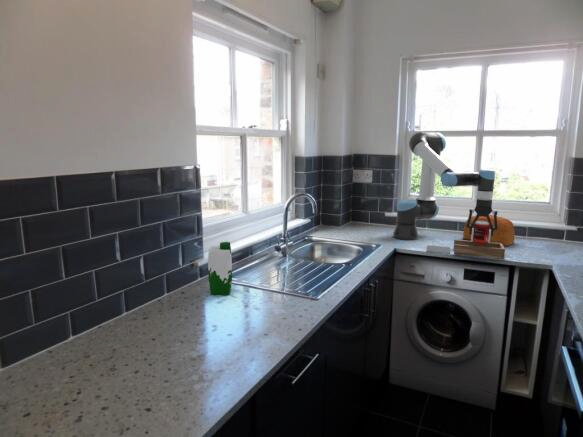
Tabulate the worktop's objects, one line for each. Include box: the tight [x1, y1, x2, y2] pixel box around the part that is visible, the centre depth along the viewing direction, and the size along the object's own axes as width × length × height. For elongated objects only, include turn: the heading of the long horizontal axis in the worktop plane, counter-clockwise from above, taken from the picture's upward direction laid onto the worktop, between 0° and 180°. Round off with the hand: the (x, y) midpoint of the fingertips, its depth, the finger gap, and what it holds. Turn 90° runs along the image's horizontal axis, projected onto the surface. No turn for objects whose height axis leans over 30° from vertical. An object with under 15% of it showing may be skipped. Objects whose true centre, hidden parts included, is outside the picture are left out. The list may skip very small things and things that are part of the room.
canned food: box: [473, 221, 490, 244], centre depth 219 cm, size 8×8×11 cm
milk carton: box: [207, 241, 233, 296], centre depth 161 cm, size 9×9×20 cm
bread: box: [462, 214, 516, 247], centre depth 248 cm, size 16×27×16 cm, turn 43°
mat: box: [426, 244, 451, 255], centre depth 228 cm, size 14×12×1 cm
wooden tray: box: [453, 239, 506, 259], centre depth 221 cm, size 13×24×5 cm, turn 69°
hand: (480, 241), depth 220 cm, fingers closed on canned food, 8 cm apart
